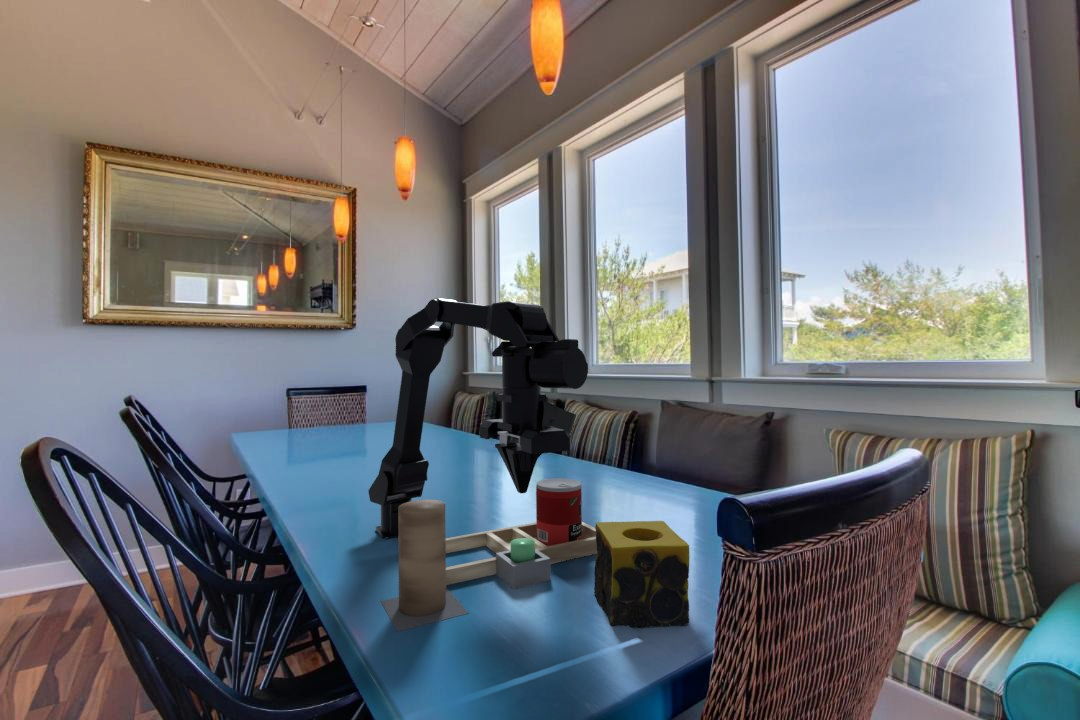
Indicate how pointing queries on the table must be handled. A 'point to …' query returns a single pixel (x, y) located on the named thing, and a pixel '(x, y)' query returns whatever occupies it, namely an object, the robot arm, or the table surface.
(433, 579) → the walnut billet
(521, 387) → the robot arm
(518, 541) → the button
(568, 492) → the canned food
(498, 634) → the table surface
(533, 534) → the birch frame
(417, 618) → the rubber mat
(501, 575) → the grey square box
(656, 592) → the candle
